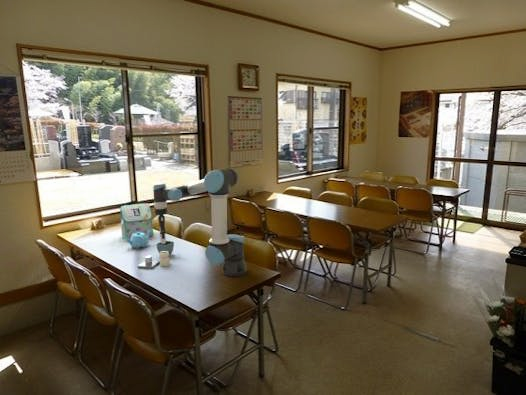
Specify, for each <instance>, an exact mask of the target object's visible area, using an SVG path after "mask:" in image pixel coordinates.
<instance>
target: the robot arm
mask: <svg viewBox="0 0 526 395" xmlns="http://www.w3.org/2000/svg"><path fill="white" fill-rule="evenodd" d="M238 182H239V174H238V172H237V171H236V169H235V168H232V167H225V168H220V169H213V170H210V171H208V172H207V173H206V174H205V176H204V178H203V179H199V180H196V181H194V182H190V183H186V184H182V185H179V186H173V187H167V185H166V183H164V182H157V183H154V184H153V186H152V187H153V189H152V191H153V202H154V203H153V202H152V203H153V206H154V214H155V215H156V216H157V219H158V225H159V237H160V242H161V244H164V243H166V241H167V240H166V239H167V238H166V227H165V226H166V225H165V223H166V218H165V216H164V215H166V214H168V208H167V207H168V204H167V202H168V201H171V202H172V201H173V202H179V201H180V200H181V199H183V198H186V197H193V195H197V194H201V193H205V192H208V195H209V196H210V198H211V200H210V202H211V203H210V204H211V206H210V208H211V238H209V242H208V243H209V245H208V246H207V247H206V248H205V252H204V253H205V257H206V259H207V260H208V262H209V263H210V264H212V265H215V266H218V265H221V264H223V265H222V269H221V273H222V274H223V275H224V276H227V277H239V276H242V275H243V276H244V275H245V274H246V273H247V271H248V269H247V268H248V267H247V265H246V261H245V259H244V258H245V257H244V256H245V255H244V238H243V236H242V235H239V234H228V214H227V213H228V209H227V208H228V206H227V205H228V203H227V201H228V196H229V195H230V189H231V188H234V187H235V186H237V185H238Z"/></svg>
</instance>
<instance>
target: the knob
mask: <svg viewBox="0 0 526 395" xmlns="http://www.w3.org/2000/svg"><path fill="white" fill-rule="evenodd" d="M158 254H159V255H158V256H159V258H158V259H159V261H160V264H159V267H160V266H161V267H166V266H167V267H168V266H170V265H171V264H170V255H169V252H168V251H162V252H158Z"/></svg>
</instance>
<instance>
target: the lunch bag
mask: <svg viewBox="0 0 526 395" xmlns="http://www.w3.org/2000/svg"><path fill="white" fill-rule="evenodd" d="M119 211H120V212H119V216H120V227H121V236H122V238H123V239H124V240H125V239H126V238H128V239H129V240H130V238H131V236H132V234H133V233H137V232H140V233H144V234H145V235H146V236H147V233H148V231H150V230H151V231H150V233H149V237H152V236H154V229H153V228H154V227H153V219H152V212H151V208H150V204H149V203H135V204H130V205H129V204H125V205H121V206H120V210H119Z"/></svg>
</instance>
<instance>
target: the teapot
mask: <svg viewBox="0 0 526 395" xmlns="http://www.w3.org/2000/svg"><path fill="white" fill-rule="evenodd" d="M150 231H151V230H150ZM150 231H148V233H147V236H146V235H145V234H144V233H140V232H137V233H133V234H132V236H131V238H130V240H129V239H128V238H126V239H124V241H126V242H128V243H129V245H130V246H131V247H132V248H135V250H139V249H140V248H147V245H148V244H149V239H150V236H149V233H150Z"/></svg>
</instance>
